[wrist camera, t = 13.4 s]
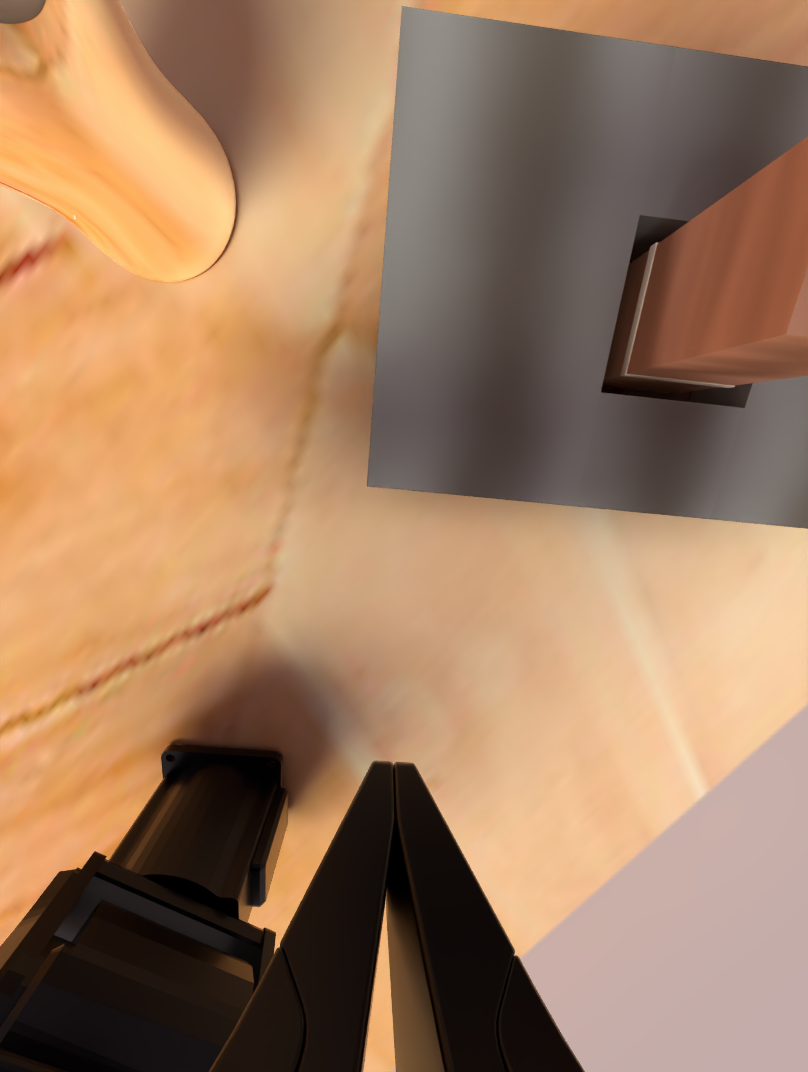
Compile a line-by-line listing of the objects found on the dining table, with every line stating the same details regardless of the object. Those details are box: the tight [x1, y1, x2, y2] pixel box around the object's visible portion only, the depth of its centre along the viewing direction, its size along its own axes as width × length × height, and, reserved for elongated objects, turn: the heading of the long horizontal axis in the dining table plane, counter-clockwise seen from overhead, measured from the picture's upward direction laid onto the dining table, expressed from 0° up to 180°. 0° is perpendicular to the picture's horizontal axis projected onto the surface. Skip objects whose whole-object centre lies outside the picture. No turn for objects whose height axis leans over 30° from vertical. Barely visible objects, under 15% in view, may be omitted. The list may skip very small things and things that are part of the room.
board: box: [367, 6, 808, 528], centre depth 15 cm, size 22×14×3 cm, turn 84°
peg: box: [602, 137, 808, 394], centre depth 12 cm, size 4×4×9 cm
